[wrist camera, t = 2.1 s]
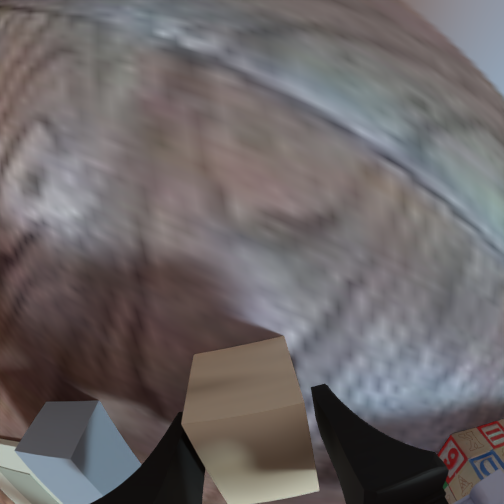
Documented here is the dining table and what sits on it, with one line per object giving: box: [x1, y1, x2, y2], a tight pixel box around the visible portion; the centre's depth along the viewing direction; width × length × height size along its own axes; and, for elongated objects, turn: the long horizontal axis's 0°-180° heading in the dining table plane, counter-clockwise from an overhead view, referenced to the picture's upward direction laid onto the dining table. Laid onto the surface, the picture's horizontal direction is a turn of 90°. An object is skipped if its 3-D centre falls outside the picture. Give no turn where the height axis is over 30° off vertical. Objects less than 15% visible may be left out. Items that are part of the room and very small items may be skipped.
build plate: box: [0, 439, 63, 504], centre depth 16 cm, size 14×14×1 cm
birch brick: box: [181, 336, 319, 504], centre depth 12 cm, size 6×4×4 cm, turn 13°
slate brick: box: [14, 400, 141, 504], centre depth 12 cm, size 6×4×4 cm, turn 13°
